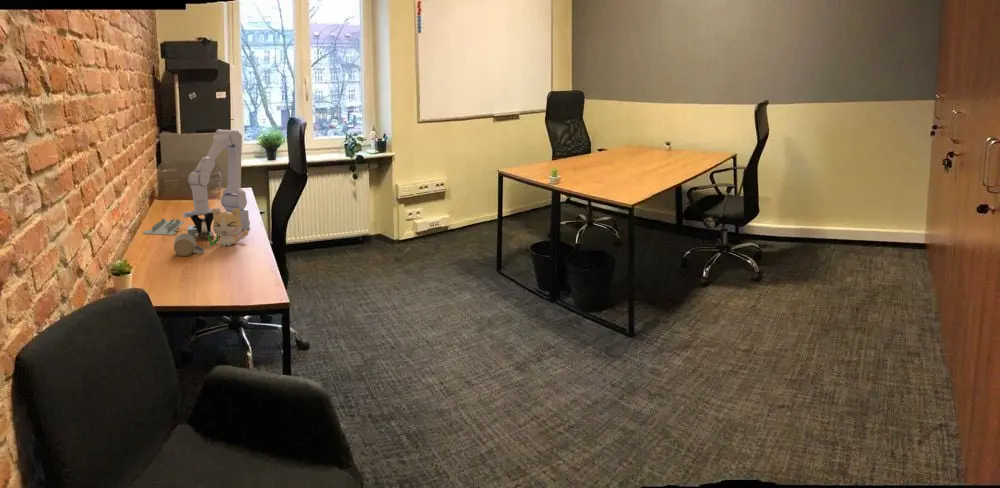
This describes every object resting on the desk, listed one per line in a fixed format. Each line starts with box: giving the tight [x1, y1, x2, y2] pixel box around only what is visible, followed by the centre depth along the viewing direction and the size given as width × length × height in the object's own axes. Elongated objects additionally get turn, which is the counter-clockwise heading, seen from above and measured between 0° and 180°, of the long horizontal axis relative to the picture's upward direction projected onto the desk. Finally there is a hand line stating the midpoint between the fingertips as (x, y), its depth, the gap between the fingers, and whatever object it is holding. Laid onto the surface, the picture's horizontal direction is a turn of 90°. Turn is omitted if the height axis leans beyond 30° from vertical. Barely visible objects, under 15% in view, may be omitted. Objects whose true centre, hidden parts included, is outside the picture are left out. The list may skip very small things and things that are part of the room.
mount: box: [194, 231, 214, 242], centre depth 295 cm, size 7×7×2 cm
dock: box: [186, 224, 212, 238], centre depth 302 cm, size 9×8×4 cm
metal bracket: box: [142, 218, 185, 236], centre depth 308 cm, size 14×6×15 cm
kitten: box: [207, 208, 249, 247], centre depth 284 cm, size 15×10×15 cm
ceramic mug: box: [173, 233, 205, 257], centre depth 270 cm, size 11×8×8 cm
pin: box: [199, 217, 208, 236], centre depth 294 cm, size 3×3×9 cm
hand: (203, 232), depth 294 cm, fingers closed on pin, 3 cm apart
